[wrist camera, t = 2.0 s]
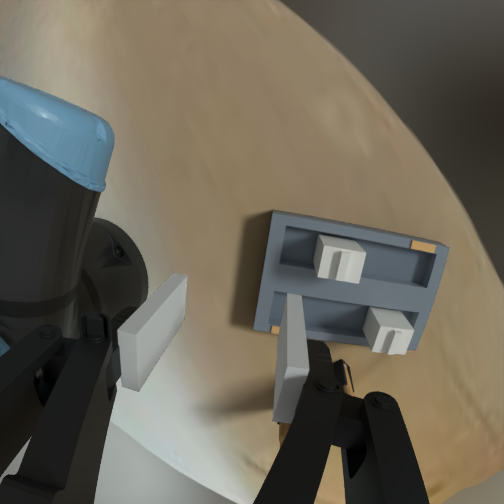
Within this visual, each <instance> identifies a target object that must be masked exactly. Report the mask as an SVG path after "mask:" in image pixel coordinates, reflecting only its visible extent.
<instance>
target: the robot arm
mask: <svg viewBox="0 0 504 504" xmlns="http://www.w3.org/2000/svg"><path fill="white" fill-rule="evenodd" d="M114 140H115V139H114V133H113V130H112V128H111V126H110V125H109V123H108V122H107V121H106V120H104V119H103V118H101V117H99V116H97V115H96V114H94V113H91V112H89V111H87V110H85V109H83V108H81V107H79V106H76V105H74V104H72V103H69V102H67V101H65V100H63V99H60V98H58V97H56V96H53V95H51V94H48V93H46V92H43V91H41V90H38V89H36V88H33V87H30V86H28V85H25V84H22V83H19V82H16V81H14V80H11V79H8V78H5V77H2V76H0V477H1V475H2V474H3V473H4V471H5V470H6V469H7V467H8V466H9V465H10V463H11V462H12V461H13V459H14V458H15V457H16V455H17V454H18V453H19V452H20V450H21V449H22V447H23V446H24V445H25V444H26V442H27V441H28V440H29V439H30V437H31V436H32V437H31V439H30V442H29V444H28V447H27V449H26V452H25V454H24V457H23V460H22V462H21V465H20V468H19V470H18V472H17V474H15V475H9V474H8V475H6V476H5V477H4V478H3V480H2V482H1V484H0V504H94V498H95V492H96V486H97V480H98V475H99V469H100V464H101V459H102V454H103V449H104V444H105V439H106V435H107V430H108V426H109V421H110V417H111V413H112V409H113V405H114V401H115V397H116V393H117V387H116V382H117V381H118V379H119V378H120V377H121V383H122V387H125V388H128V389H131V390H135V391H138V392H139V391H140V389H141V388H142V386H143V384H144V383H145V381H146V380H147V378H148V376H149V375H150V373H151V372H152V370H153V368H154V367H155V365H156V364H157V362H158V361H159V359H160V357H161V356H162V354H163V353H164V351H165V350H166V348H167V346H168V345H169V343H170V342H171V340H172V339H173V337H174V335H175V334H176V332H177V331H178V329H179V328H180V326H181V324H182V323H183V321H184V315H185V301H186V288H187V276H188V275H183V274H178V273H173V274H172V275H171V276H170V277H169V278H168V279H167V280H166V281H165V282H164V283H163V284H162V285H161V286H160V287H159V288H158V289H157V290H156V291H155V292H154V293H153V294H152V295H151V296H150V297H149V298H148V299H147V294H148V275H147V270H146V266H145V263H144V260H143V258H142V255H141V253H140V251H139V250H138V248H137V246H136V245H135V243H134V242H133V240H132V239H131V238H130V237H129V236H128V235H127V234H126V233H125V232H124V231H123V230H122V229H121V228H119V227H118V226H117V225H115V224H113V223H111V222H109V221H107V220H104V219H101V218H94V216H95V212H96V208H97V205H98V201H99V198H100V194H101V192H103V191H104V190H105V187H106V183H105V177H106V173H107V170H108V166H109V162H110V158H111V155H112V151H113V148H114ZM146 299H147V300H146ZM272 421H274V422H282V423H290V424H291V425H290V428H289V430H288V432H287V434H286V437H285V439H284V441H283V443H282V445H281V448H280V450H279V452H278V454H277V456H276V458H275V461H274V463H273V465H272V467H271V469H270V471H269V473H268V475H267V477H266V479H265V481H264V483H263V485H262V487H261V489H260V491H259V493H258V495H257V497H256V499H255V501H254V503H253V504H314V501H315V498H316V495H317V491H318V488H319V485H320V482H321V479H322V475H323V472H324V469H325V465H326V462H327V458H328V454H329V451H330V447H331V445H334V446H337V447H341V455H342V465H343V476H344V487H345V500H346V504H430V503H429V500H428V496H427V492H426V489H425V485H424V482H423V479H422V475H421V472H420V469H419V465H418V462H417V459H416V456H415V453H414V449H413V446H412V443H411V440H410V437H409V434H408V431H407V428H406V425H405V423H404V420H403V417H402V414H401V411H400V408H399V406H398V403H397V402H396V400H395V399H394V398H393V397H392V396H390V395H388V394H386V393H383V392H378V391H377V392H370V393H368V394H367V395H366V396H365V397H364V399H361V398H358V397H354V396H351V395H349V394H347V393H345V392H344V388H343V386H342V384H341V383H340V382H339V381H337V380H336V379H335V374H334V369H333V364H332V359H331V354H330V350H329V348H328V347H327V345H326V344H325V343H324V342H321V341H313V340H306V330H305V321H304V312H303V303H302V295H296V294H290V293H287V297H286V302H285V306H284V311H283V316H282V321H281V325H280V330H279V335H278V344H277V361H276V377H275V392H274V406H273V420H272Z"/></svg>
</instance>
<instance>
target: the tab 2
mask: <svg viewBox="0 0 504 504" xmlns="http://www.w3.org/2000/svg"><path fill="white" fill-rule="evenodd" d="M362 330H363V332H364V334H365V337H366V339H367V341H368V344H369V346H370V348H371V351H372V352H382V353H387V354H390V355H394V354H405V353H406V351H407V348H408V346H409V343H410V341H411V338H412V335H413V333H414V329H413V327H412V326H411V325H410V323H409V322H408V320H407V319H406V318H405V316H404V315H403V314H402V312H401V311H400V310H395V309H388V308H381V307H373V306H369V309H368V312H367V315H366V318H365V322H364V325H363V328H362Z"/></svg>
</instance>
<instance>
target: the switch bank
mask: <svg viewBox="0 0 504 504" xmlns="http://www.w3.org/2000/svg"><path fill="white" fill-rule="evenodd" d="M318 234H321V235H327V236H332V237H338V238H343V239H349V240H354V241H356V242H357V243H358V244H359V245H360V246H361V248H362V249H363V250H364V251H365V252H366V257H365V261H364V265H363V269H362V273H361V277H360V281H359V284H356V283H350V282H344V281H338V280H332V279H326V278H320V277H317V274H316V271H315V267H314V264H313V259H314V254H315V249H316V244H317V239H318ZM448 252H449V247H447V246H446V245H444V244H442V243H440V242H437V241H432V240H428V239H423V238H419V237H414V236H410V235H405V234H400V233H395V232H391V231H386V230H381V229H376V228H371V227H366V226H361V225H356V224H351V223H346V222H340V221H335V220H330V219H324V218H319V217H313V216H308V215H302V214H296V213H291V212H285V211H279V210H273V214H272V220H271V226H270V232H269V238H268V245H267V251H266V257H265V263H264V269H263V275H262V280H261V286H260V292H259V298H258V304H257V310H256V316H255V321H254V327H253V330H258V331H264V332H270V333H273V334H279V330H280V325H281V321H282V316H283V311H284V306H285V302H286V297H287V293H290V294H296V295H302V303H303V312H304V321H305V330H306V338H309V339H316V340H323V341H331V342H338V343H346V344H355V345H364V346H369V344H368V341H367V339H366V337H365V334H364V332H363V330H362V328H363V325H364V322H365V318H366V315H367V312H368V309H369V306H373V307H381V308H388V309H395V310H400V311H401V312H402V314H403V315H404V316H405V318H406V319H407V320H408V322H409V323H410V325H411V326H412V327H413V329H414V333H413V335H412V338H411V341H410V343H409V346H408V348H407V350H416V348H417V346H418V343H419V341H420V338H421V336H422V333H423V331H424V328H425V325H426V322H427V320H428V317H429V314H430V311H431V308H432V305H433V302H434V299H435V296H436V293H437V290H438V287H439V284H440V280H441V277H442V274H443V270H444V267H445V263H446V259H447V256H448Z"/></svg>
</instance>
